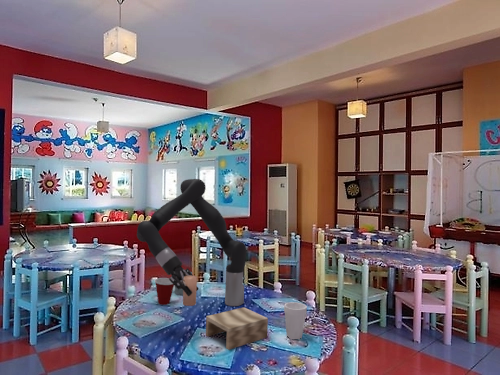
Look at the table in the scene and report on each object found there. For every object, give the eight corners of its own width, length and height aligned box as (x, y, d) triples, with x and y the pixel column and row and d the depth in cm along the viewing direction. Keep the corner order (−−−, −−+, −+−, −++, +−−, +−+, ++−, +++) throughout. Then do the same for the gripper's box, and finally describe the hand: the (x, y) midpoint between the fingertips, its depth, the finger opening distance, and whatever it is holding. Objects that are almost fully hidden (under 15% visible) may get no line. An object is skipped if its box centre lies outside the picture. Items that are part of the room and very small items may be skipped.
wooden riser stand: (243, 325, 161) (244, 307, 161) (267, 337, 149) (267, 318, 149) (205, 335, 149) (206, 316, 149) (228, 349, 136) (229, 328, 136)
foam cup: (291, 343, 144) (292, 310, 144) (278, 334, 153) (280, 303, 153) (310, 339, 149) (311, 308, 149) (297, 330, 157) (298, 301, 157)
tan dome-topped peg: (191, 300, 152) (192, 274, 152) (198, 304, 147) (199, 277, 147) (180, 303, 148) (181, 276, 148) (186, 306, 144) (187, 279, 144)
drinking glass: (194, 292, 208) (195, 271, 208) (185, 297, 198) (186, 275, 198) (179, 290, 211) (179, 269, 211) (169, 294, 201) (170, 273, 201)
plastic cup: (169, 307, 180) (170, 283, 180) (149, 305, 182) (150, 281, 182) (178, 301, 191) (179, 278, 191) (159, 299, 193) (160, 276, 193)
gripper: (166, 258, 143) (192, 291, 140) (182, 252, 157) (207, 282, 153) (153, 270, 145) (179, 303, 141) (171, 263, 158) (195, 293, 155)
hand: (193, 292), depth 147 cm, fingers closed on tan dome-topped peg, 5 cm apart
